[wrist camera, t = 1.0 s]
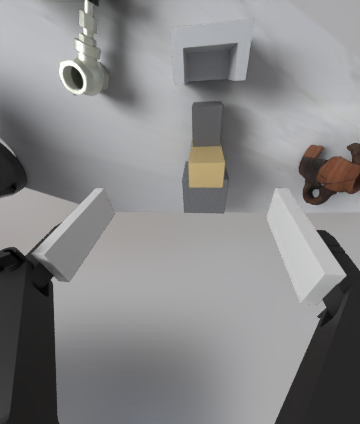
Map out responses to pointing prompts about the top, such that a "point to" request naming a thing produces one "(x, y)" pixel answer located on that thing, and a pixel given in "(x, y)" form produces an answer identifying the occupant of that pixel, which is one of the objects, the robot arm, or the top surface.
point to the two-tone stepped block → (206, 146)
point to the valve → (85, 58)
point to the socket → (211, 51)
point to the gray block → (203, 196)
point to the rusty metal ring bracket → (329, 174)
